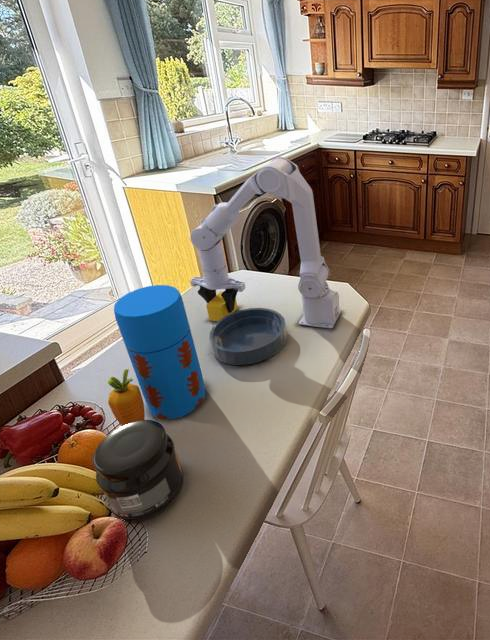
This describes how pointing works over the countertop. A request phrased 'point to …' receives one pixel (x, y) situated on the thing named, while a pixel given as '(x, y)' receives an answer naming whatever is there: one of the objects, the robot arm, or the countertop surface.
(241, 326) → the bowl
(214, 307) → the sponge
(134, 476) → the supplement container
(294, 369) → the countertop surface
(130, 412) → the carrot
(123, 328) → the thermos
